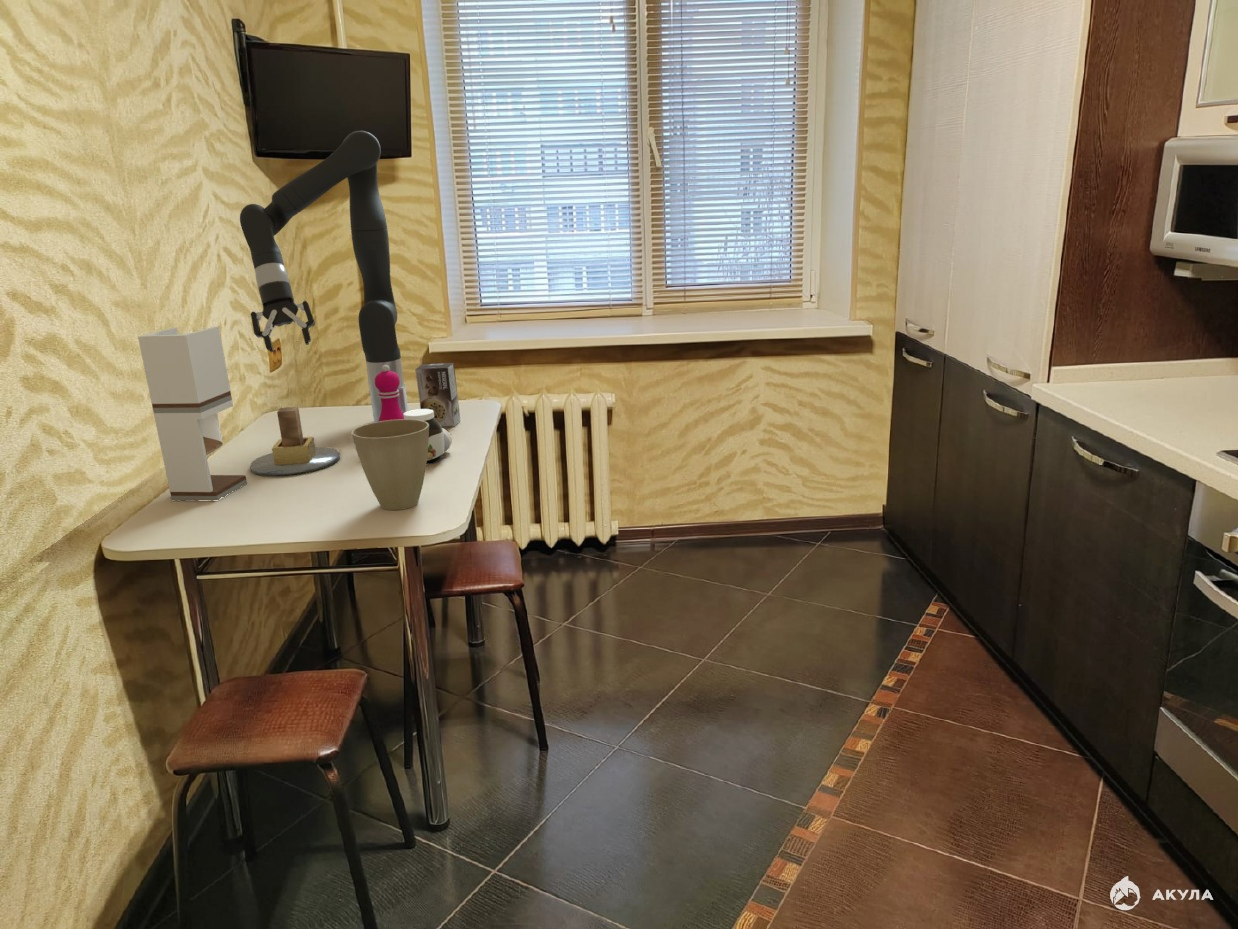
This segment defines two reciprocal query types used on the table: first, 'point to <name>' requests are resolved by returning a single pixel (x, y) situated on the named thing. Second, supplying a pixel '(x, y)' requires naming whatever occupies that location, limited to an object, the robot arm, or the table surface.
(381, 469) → the plant pot
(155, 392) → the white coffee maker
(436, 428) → the spread jar
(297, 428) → the tall tan wooden block
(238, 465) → the table surface
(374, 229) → the robot arm
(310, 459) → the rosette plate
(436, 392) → the coffee box
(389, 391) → the pepper mill
